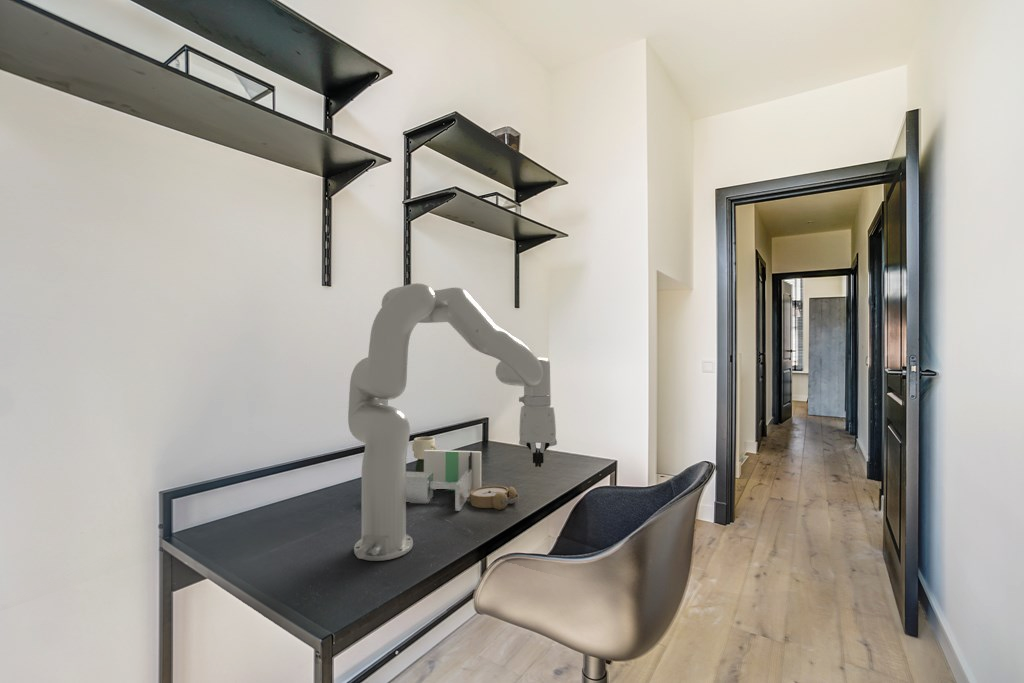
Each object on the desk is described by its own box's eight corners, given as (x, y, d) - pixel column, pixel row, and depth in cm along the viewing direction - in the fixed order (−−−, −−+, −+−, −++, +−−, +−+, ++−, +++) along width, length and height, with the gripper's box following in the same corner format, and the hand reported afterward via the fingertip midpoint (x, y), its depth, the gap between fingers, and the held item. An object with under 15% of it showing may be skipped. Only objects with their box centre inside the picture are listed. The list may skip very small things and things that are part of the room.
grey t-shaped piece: (459, 510, 125) (459, 471, 125) (419, 509, 126) (419, 470, 126) (472, 490, 142) (472, 455, 142) (436, 489, 143) (437, 454, 143)
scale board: (480, 491, 142) (480, 452, 142) (423, 489, 144) (423, 450, 144) (481, 490, 144) (481, 451, 144) (425, 487, 146) (425, 449, 146)
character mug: (443, 476, 158) (443, 438, 158) (428, 481, 152) (428, 442, 152) (420, 471, 164) (420, 435, 164) (405, 476, 158) (405, 438, 158)
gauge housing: (427, 503, 132) (427, 477, 132) (383, 501, 133) (383, 476, 133) (433, 497, 137) (433, 472, 137) (390, 495, 139) (390, 470, 139)
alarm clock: (484, 484, 141) (526, 483, 133) (486, 500, 140) (528, 500, 133) (461, 494, 131) (505, 494, 124) (463, 512, 131) (508, 512, 123)
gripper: (509, 403, 128) (510, 469, 128) (563, 403, 126) (564, 470, 127) (512, 399, 136) (513, 461, 136) (563, 399, 134) (564, 462, 134)
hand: (538, 465), depth 131 cm, fingers closed
